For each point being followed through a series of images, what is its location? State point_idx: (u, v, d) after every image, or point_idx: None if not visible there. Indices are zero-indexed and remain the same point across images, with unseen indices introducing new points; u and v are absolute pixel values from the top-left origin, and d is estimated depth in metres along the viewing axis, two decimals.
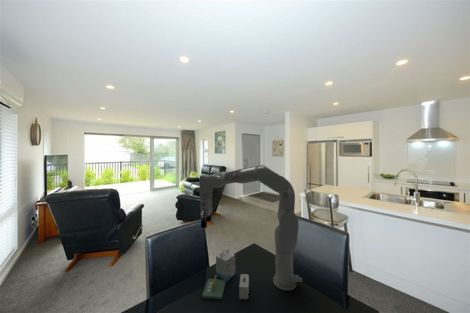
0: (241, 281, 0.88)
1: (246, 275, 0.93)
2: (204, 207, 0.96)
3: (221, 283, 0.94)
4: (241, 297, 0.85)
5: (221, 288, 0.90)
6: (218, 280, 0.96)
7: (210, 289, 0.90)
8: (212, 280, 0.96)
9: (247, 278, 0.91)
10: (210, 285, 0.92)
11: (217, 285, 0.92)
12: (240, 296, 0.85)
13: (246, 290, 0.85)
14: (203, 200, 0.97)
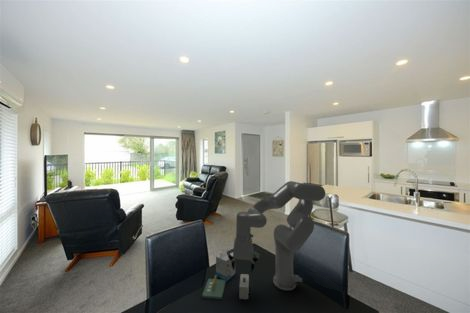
0: (241, 281, 0.88)
1: (246, 275, 0.93)
2: (252, 247, 0.89)
3: (221, 283, 0.94)
4: (241, 297, 0.85)
5: (221, 288, 0.90)
6: (218, 280, 0.96)
7: (210, 289, 0.90)
8: (212, 280, 0.96)
9: (247, 278, 0.91)
10: (210, 285, 0.92)
11: (217, 285, 0.92)
12: (240, 296, 0.85)
13: (246, 290, 0.85)
14: (251, 240, 0.89)
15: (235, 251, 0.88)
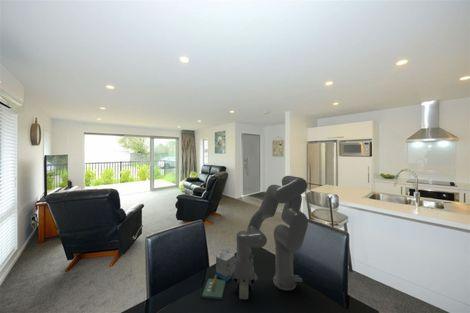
0: (241, 281, 0.88)
1: None
2: (253, 267, 0.89)
3: (221, 283, 0.94)
4: (241, 297, 0.85)
5: (221, 288, 0.90)
6: (218, 280, 0.96)
7: (210, 289, 0.90)
8: (212, 280, 0.96)
9: None
10: (210, 285, 0.92)
11: (217, 285, 0.92)
12: (240, 296, 0.85)
13: (246, 290, 0.84)
14: (252, 260, 0.89)
15: (236, 271, 0.88)
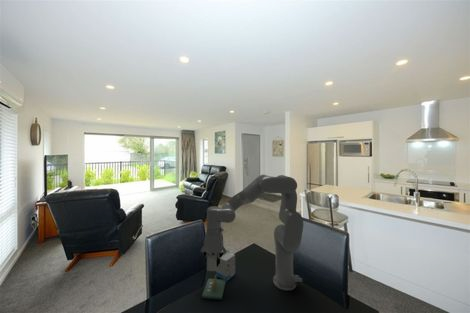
0: (210, 254, 0.90)
1: None
2: (222, 241, 0.91)
3: (221, 283, 0.94)
4: (209, 269, 0.87)
5: (221, 288, 0.90)
6: (218, 280, 0.96)
7: (210, 289, 0.90)
8: (212, 280, 0.96)
9: None
10: (210, 285, 0.92)
11: (217, 285, 0.92)
12: (207, 268, 0.87)
13: (213, 262, 0.86)
14: (221, 234, 0.91)
15: (205, 245, 0.90)
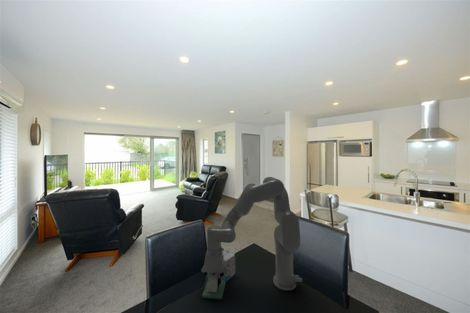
0: (211, 274, 0.90)
1: None
2: (223, 260, 0.91)
3: (221, 283, 0.94)
4: (210, 290, 0.87)
5: (221, 288, 0.90)
6: None
7: None
8: None
9: None
10: None
11: None
12: (208, 289, 0.87)
13: (214, 283, 0.86)
14: (222, 254, 0.91)
15: (206, 265, 0.90)
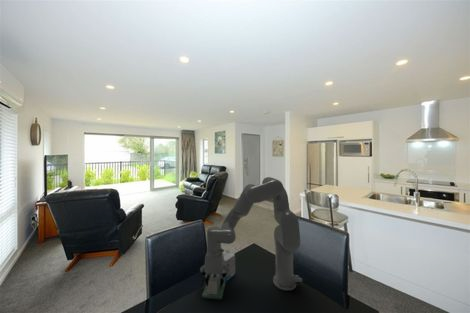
0: (211, 276, 0.90)
1: None
2: (223, 261, 0.91)
3: None
4: (210, 292, 0.87)
5: (221, 288, 0.90)
6: None
7: None
8: None
9: (218, 274, 0.92)
10: None
11: None
12: (209, 291, 0.87)
13: (215, 285, 0.86)
14: (222, 255, 0.91)
15: (206, 266, 0.90)
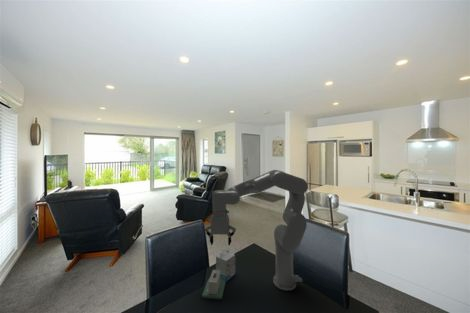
0: (211, 276, 0.90)
1: (218, 271, 0.94)
2: None
3: (221, 283, 0.94)
4: (210, 292, 0.87)
5: (221, 288, 0.90)
6: None
7: None
8: None
9: (218, 274, 0.92)
10: None
11: None
12: (209, 291, 0.87)
13: (215, 285, 0.86)
14: (227, 216, 0.93)
15: (212, 227, 0.92)
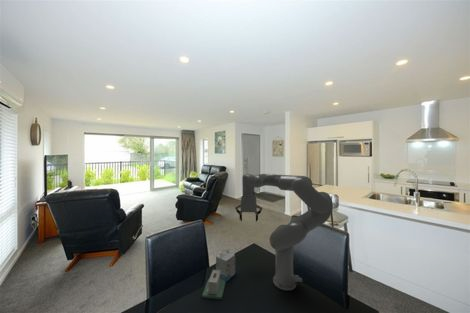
0: (211, 276, 0.90)
1: (218, 271, 0.94)
2: None
3: (221, 283, 0.94)
4: (210, 292, 0.87)
5: (221, 288, 0.90)
6: None
7: None
8: None
9: (218, 274, 0.92)
10: None
11: None
12: (209, 291, 0.87)
13: (215, 285, 0.86)
14: (255, 197, 1.08)
15: (242, 205, 1.07)
